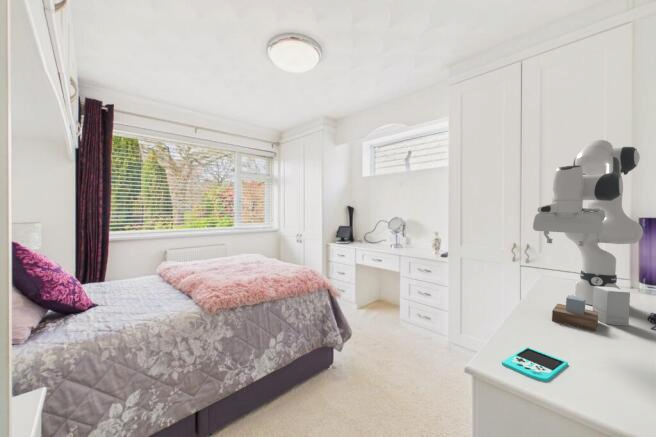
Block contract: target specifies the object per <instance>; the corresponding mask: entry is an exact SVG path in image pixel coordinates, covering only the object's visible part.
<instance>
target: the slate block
mask: <svg viewBox="0 0 656 437" xmlns="http://www.w3.org/2000/svg"><path fill="white" fill-rule="evenodd" d="M585 301H586V298H580V297H575V296H571V295H567V296H566V300H565V305H566V311H569V312H573V313H578V314H582V315H584V313H585V309H586V304H585Z"/></svg>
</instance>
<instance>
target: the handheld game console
mask: <svg viewBox="0 0 656 437" xmlns="http://www.w3.org/2000/svg"><path fill="white" fill-rule="evenodd" d="M501 365H502V366H504V367H507V368H509V369H511V370H513V371H514V372H515V371H516V372H518V373H519V374H521V375H525V376H526V377H529V378H532V379H534V380H537V381H541V382H549V381H550V380H552V378H554V377H555V376H556V375H558V374H559V373H560V372H561V371H562V370H564V369H565V368H566V367H567V366H569V362H568V361H566V360H563V359H561V358H558V357H555V356H552V355H550V354H546V353H544V352H543V351H540V350H536V349H534V348H532V347H529V346H527V347H525V348H523V349H521V350H520V351H518V352H516V353H515V354H512V355H511V356H510V357H508V358H505V359H504V360H502V361H501Z"/></svg>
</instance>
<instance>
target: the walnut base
mask: <svg viewBox="0 0 656 437" xmlns="http://www.w3.org/2000/svg"><path fill="white" fill-rule="evenodd" d="M551 321H552V322H556V323H560V324H564V325H568V326H572V327H576V328H579V329H580V328H581V329H585V330H589V331H593V332H596V329H597V327H598V323H599V320H598V312H596V311H593V310H591V309H586V308H585V313H584V315H582V314H578V313H573V312H569V311H566V304H561V303H557V304H556V305H555V306H554V307H553V309H552V310H551Z"/></svg>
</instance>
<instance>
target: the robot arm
mask: <svg viewBox="0 0 656 437" xmlns="http://www.w3.org/2000/svg"><path fill="white" fill-rule="evenodd" d="M640 158H641V157H640V153H639V151H638V150H637V148H635V147H634V146H623V147H613V145H612V143H611V142H609V141H608V140H603V139H598V140H597V139H596V140H593V141H591V142H589V143H588V144H587V145H585V146H584V147H582V149H581V150H580V151H579V153H578V154H577V155H576V156H575V158H574V159H573V163H572V165H566V166H559V167H558V168H556V169H555V173H554V177H553V184H552V191H553V197H552V203H551V204H546V205H542V206H538V207H537V213H536V214H535V215H534V219H533V224H532V229H533V230H534V231H535V232H543V235H544V237H545V238H546V244H553V238H550V233H551V232H553V233H564V235H565V236H566V237H567V238H568V240H570V241H571V242H573V243H574V244H575V245H576V246H577V248H578V249H579V251H580V254H581V270H580V274H579V275H580V276H579V278H580V279H578V280H577V281H576V282H575V289H574V293H573V294H571V295H570V296H575V297H580V298H586V301H585V305H588V306H589V305H590V306H593V291H594V286H599V287H615V288H618V289H621V288H620V287H619V286H618V285H617V280H618V278H617V277H618V276H617V274H616V271H617V269H616V268H617V258H616V257H615V255H614V254H613V253H610V252H609V251H606V250H604V249H603V248H600V246H599V244H600V243H601V244H613V245H630V244H636V243H638V242H639V241H640V240H641V239H642V238H643V236H644V229H643V227H642V225H641V224H640V223H639V222H637V221H635V220H633V219H632V218H630V216H628V215H627V214H626V213H625V212H624V209H623V192H624V183H623V182H624V181H623V177H622V174H623V175H624V176H626V175H628V174H629V172H631V171H632V170H634V169H635V168H637V166H638V164H639V162H640ZM584 201H587V202H588V203H587V207H588V208H586V207H585V208H583V206H584V205H583V204H584Z"/></svg>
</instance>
